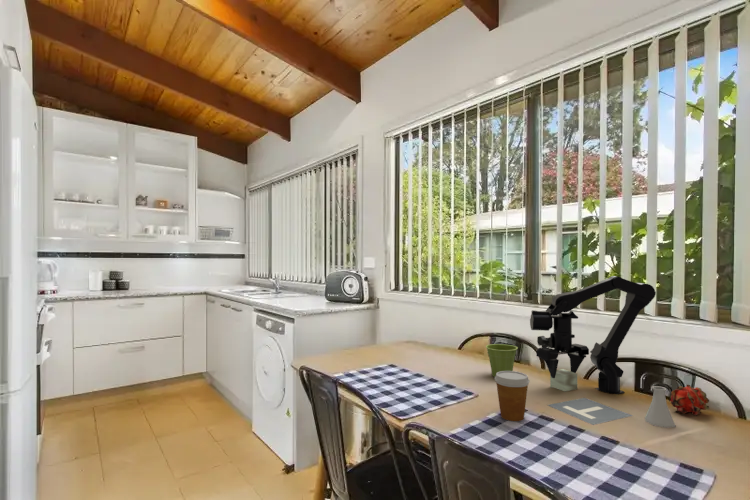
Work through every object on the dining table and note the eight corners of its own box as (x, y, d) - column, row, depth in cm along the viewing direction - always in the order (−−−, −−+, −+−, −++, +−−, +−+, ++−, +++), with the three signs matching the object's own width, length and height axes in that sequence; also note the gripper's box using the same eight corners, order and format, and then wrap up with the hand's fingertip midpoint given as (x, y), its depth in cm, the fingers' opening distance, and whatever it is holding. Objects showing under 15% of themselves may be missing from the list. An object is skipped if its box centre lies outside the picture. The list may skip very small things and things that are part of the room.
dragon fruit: (708, 416, 119) (678, 427, 116) (682, 392, 126) (653, 402, 122) (724, 399, 114) (693, 410, 111) (696, 375, 121) (666, 384, 117)
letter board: (584, 399, 129) (584, 397, 129) (633, 417, 115) (633, 415, 115) (546, 407, 123) (546, 404, 123) (593, 427, 109) (593, 424, 109)
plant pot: (521, 374, 157) (520, 345, 157) (513, 382, 147) (513, 351, 147) (490, 370, 164) (490, 342, 164) (481, 377, 154) (481, 348, 154)
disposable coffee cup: (490, 411, 120) (489, 370, 120) (521, 410, 121) (520, 369, 121) (502, 424, 111) (502, 380, 111) (536, 423, 111) (535, 379, 112)
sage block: (563, 386, 143) (563, 369, 144) (577, 391, 138) (577, 373, 138) (550, 388, 141) (550, 371, 141) (564, 393, 136) (564, 375, 136)
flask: (682, 431, 106) (681, 392, 106) (651, 429, 107) (650, 391, 107) (668, 420, 113) (667, 384, 113) (639, 418, 114) (638, 383, 114)
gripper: (563, 325, 151) (564, 367, 151) (524, 329, 144) (525, 373, 143) (589, 330, 141) (590, 375, 140) (549, 334, 133) (549, 382, 133)
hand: (563, 376), depth 140 cm, fingers open, 9 cm apart
